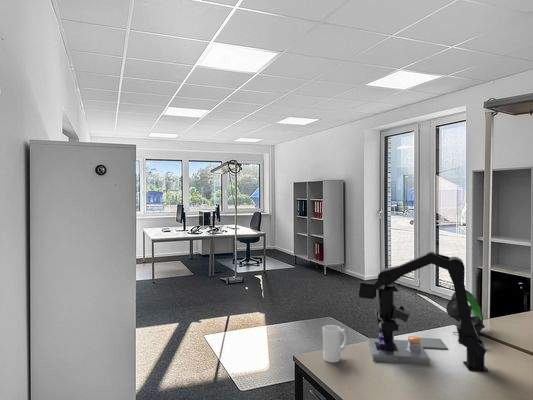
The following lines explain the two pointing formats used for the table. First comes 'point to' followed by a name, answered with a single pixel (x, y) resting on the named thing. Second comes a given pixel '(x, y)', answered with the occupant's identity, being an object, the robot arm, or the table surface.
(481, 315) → the headset
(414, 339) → the peach dome cap
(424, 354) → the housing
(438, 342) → the pad
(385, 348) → the beverage can
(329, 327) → the mug
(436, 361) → the table surface
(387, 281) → the robot arm
